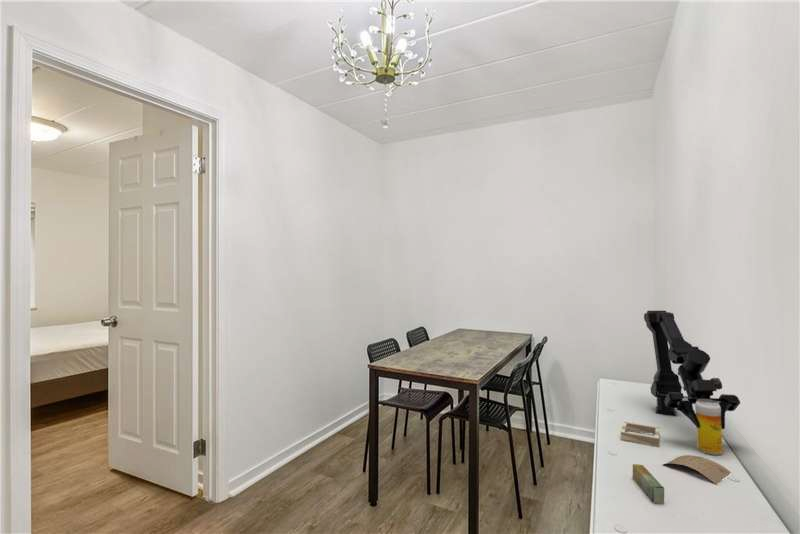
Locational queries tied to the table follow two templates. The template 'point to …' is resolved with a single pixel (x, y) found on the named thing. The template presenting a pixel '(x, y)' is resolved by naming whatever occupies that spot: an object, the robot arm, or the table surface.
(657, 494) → the medication box
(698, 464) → the curved brown cardboard
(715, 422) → the beer can
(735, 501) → the table surface
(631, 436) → the tray
